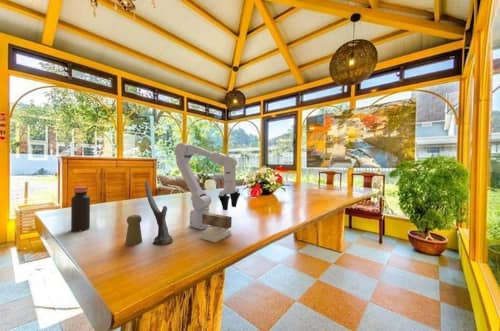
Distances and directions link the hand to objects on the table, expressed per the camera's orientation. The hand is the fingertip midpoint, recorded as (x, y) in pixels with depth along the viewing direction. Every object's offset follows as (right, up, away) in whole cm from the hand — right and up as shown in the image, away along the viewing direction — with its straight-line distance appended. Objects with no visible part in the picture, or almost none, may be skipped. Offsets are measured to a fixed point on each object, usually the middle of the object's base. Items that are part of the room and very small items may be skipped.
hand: (229, 208), depth 102 cm
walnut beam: (-5, -6, -10) cm, 12 cm away
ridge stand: (-5, -11, -10) cm, 15 cm away
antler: (-28, -10, -18) cm, 35 cm away
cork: (-37, -10, -19) cm, 43 cm away
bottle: (-70, -9, -5) cm, 70 cm away
